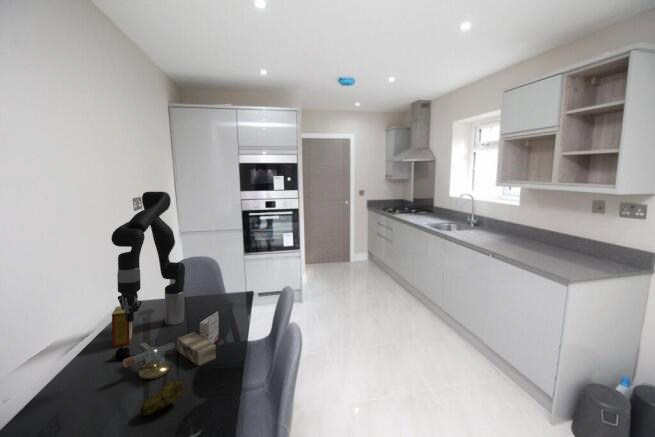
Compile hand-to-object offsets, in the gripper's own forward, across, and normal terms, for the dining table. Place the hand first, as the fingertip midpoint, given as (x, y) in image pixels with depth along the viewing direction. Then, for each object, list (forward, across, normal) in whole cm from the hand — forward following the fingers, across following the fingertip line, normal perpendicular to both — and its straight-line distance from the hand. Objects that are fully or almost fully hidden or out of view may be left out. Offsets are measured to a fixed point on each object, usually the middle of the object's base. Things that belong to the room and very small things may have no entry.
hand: (129, 321), depth 120 cm
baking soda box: (+21, -27, +11) cm, 36 cm away
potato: (+21, +30, -5) cm, 37 cm away
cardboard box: (+21, +11, +22) cm, 33 cm away
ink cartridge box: (+21, +8, +32) cm, 39 cm away
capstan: (+21, +6, +5) cm, 22 cm away
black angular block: (+22, -12, +3) cm, 25 cm away
